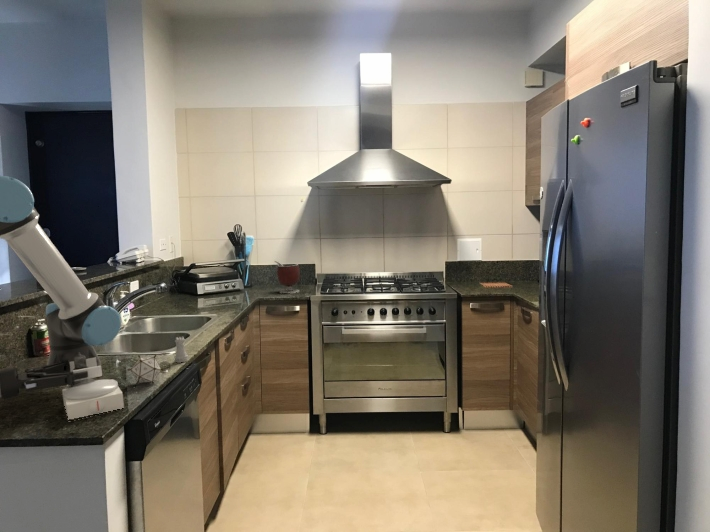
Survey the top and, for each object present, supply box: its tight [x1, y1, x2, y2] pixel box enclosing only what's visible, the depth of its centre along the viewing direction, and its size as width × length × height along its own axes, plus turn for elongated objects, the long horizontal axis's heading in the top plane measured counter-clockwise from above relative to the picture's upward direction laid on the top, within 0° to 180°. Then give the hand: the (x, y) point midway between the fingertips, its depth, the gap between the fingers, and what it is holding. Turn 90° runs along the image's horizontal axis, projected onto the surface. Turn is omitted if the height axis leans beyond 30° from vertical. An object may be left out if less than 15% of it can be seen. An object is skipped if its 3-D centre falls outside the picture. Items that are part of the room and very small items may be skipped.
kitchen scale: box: [62, 378, 125, 421], centre depth 123 cm, size 14×12×5 cm
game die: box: [126, 354, 165, 386], centre depth 140 cm, size 9×8×10 cm
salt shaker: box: [69, 352, 95, 387], centre depth 132 cm, size 6×6×12 cm
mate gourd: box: [274, 260, 301, 294], centre depth 306 cm, size 16×14×20 cm
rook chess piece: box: [174, 336, 189, 364], centre depth 161 cm, size 4×4×8 cm
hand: (98, 366), depth 135 cm, fingers open, 10 cm apart
